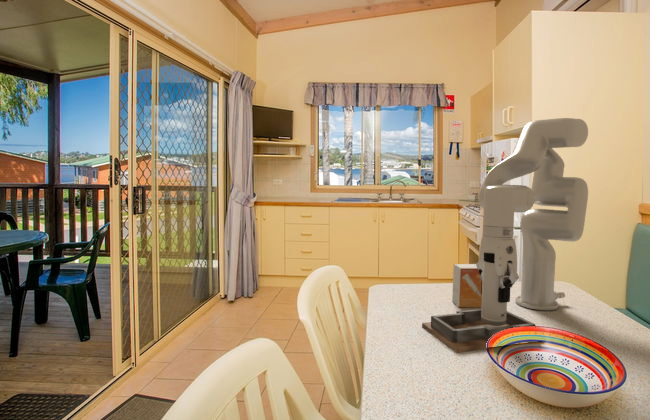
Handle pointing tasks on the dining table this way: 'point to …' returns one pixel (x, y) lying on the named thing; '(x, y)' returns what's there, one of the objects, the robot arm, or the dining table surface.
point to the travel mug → (491, 294)
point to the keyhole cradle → (468, 329)
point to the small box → (466, 286)
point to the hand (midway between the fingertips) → (494, 297)
